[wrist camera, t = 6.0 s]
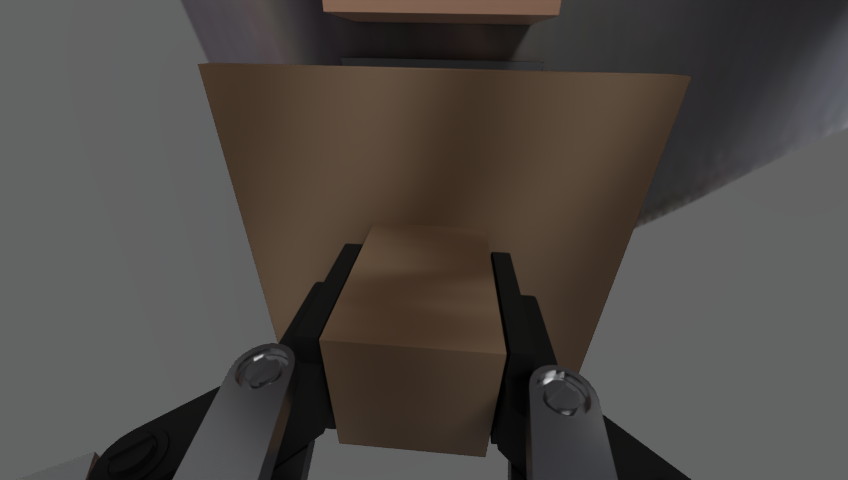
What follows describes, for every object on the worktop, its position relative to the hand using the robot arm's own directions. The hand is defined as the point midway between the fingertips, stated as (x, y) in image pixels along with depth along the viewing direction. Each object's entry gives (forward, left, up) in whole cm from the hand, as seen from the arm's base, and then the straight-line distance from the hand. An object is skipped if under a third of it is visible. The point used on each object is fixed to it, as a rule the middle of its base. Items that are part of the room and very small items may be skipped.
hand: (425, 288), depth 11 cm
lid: (0, 0, -2) cm, 2 cm away
